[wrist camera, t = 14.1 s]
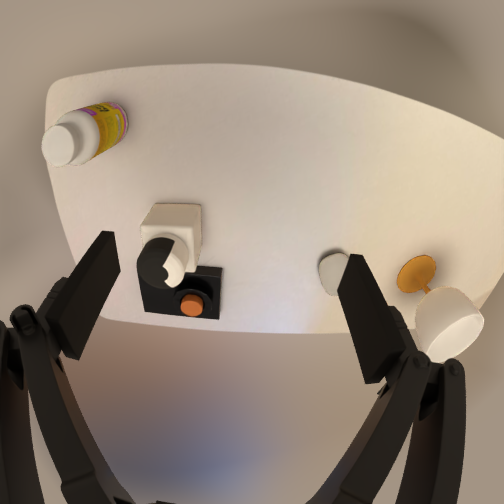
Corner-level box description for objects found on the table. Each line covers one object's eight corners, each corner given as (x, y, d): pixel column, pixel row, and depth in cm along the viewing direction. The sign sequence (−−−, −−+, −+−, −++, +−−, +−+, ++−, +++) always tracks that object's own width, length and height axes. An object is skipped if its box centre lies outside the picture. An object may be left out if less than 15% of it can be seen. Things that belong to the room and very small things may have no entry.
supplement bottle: (130, 100, 32) (81, 113, 21) (129, 145, 35) (84, 176, 25) (89, 102, 31) (33, 119, 21) (89, 146, 35) (38, 176, 24)
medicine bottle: (158, 243, 44) (136, 293, 34) (154, 202, 41) (125, 246, 31) (202, 245, 45) (189, 297, 35) (201, 203, 41) (185, 249, 31)
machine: (147, 302, 52) (142, 318, 48) (140, 260, 46) (133, 275, 43) (220, 310, 53) (218, 326, 49) (222, 267, 47) (220, 283, 44)
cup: (389, 260, 47) (430, 331, 33) (442, 241, 45) (491, 302, 30) (391, 304, 53) (421, 371, 39) (438, 286, 51) (475, 346, 37)
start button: (182, 308, 48) (181, 315, 46) (181, 293, 46) (179, 299, 44) (203, 310, 48) (202, 317, 47) (203, 295, 46) (202, 301, 45)
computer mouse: (327, 296, 51) (331, 307, 49) (311, 255, 46) (314, 267, 44) (357, 284, 50) (362, 295, 47) (345, 242, 45) (350, 253, 42)
